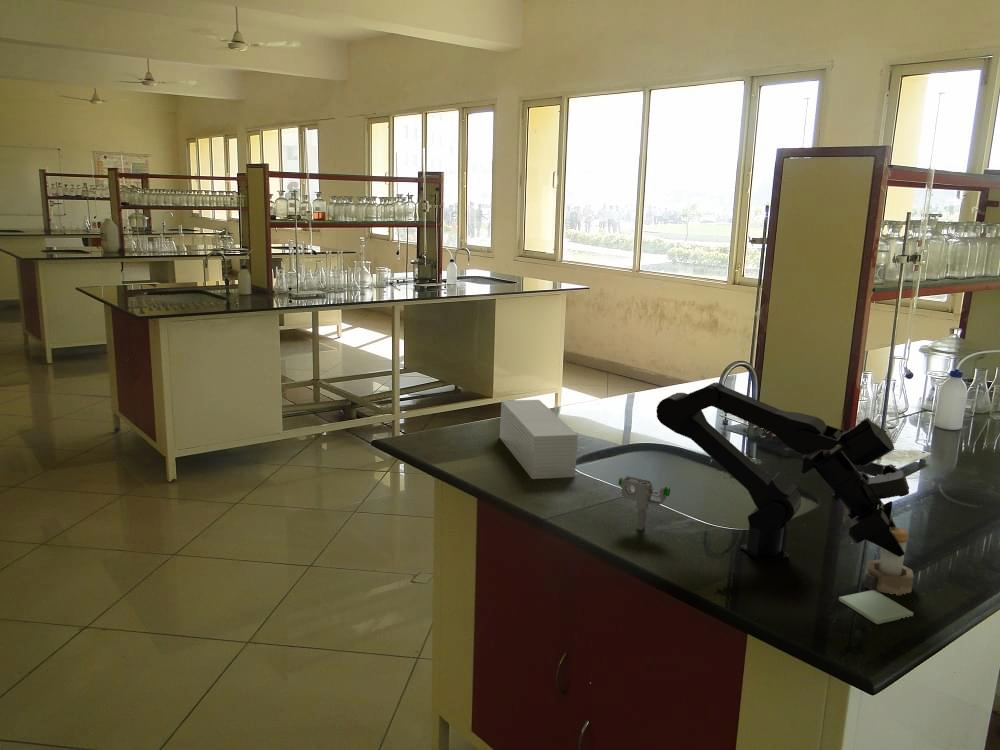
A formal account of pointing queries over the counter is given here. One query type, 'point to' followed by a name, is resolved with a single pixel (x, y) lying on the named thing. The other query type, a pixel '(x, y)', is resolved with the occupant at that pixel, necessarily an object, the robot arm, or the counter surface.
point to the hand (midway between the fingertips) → (902, 551)
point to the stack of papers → (538, 439)
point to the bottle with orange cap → (890, 561)
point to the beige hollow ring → (888, 580)
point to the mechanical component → (642, 495)
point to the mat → (875, 606)
